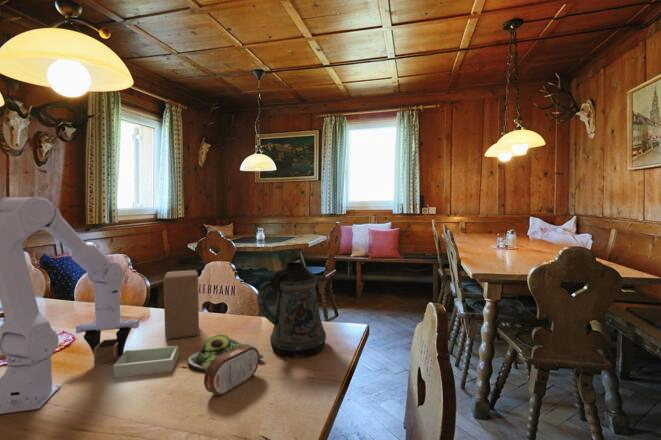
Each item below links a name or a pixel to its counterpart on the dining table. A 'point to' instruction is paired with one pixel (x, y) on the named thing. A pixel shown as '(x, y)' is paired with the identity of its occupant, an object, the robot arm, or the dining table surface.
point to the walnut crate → (106, 353)
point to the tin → (231, 369)
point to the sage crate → (146, 361)
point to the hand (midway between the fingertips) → (109, 356)
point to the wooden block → (181, 304)
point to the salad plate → (213, 351)
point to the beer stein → (293, 312)
